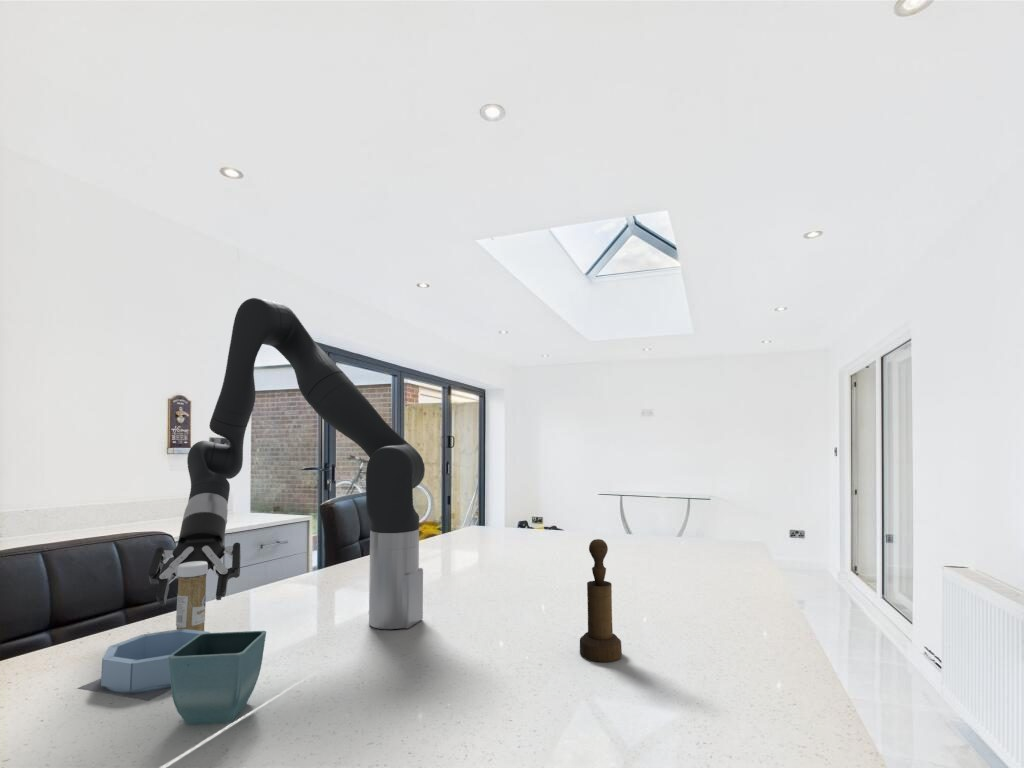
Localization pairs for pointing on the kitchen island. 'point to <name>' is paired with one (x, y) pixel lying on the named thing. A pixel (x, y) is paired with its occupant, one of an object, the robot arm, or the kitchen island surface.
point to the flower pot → (215, 675)
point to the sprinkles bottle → (191, 595)
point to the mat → (143, 696)
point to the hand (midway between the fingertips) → (190, 600)
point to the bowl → (142, 661)
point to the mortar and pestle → (599, 612)
